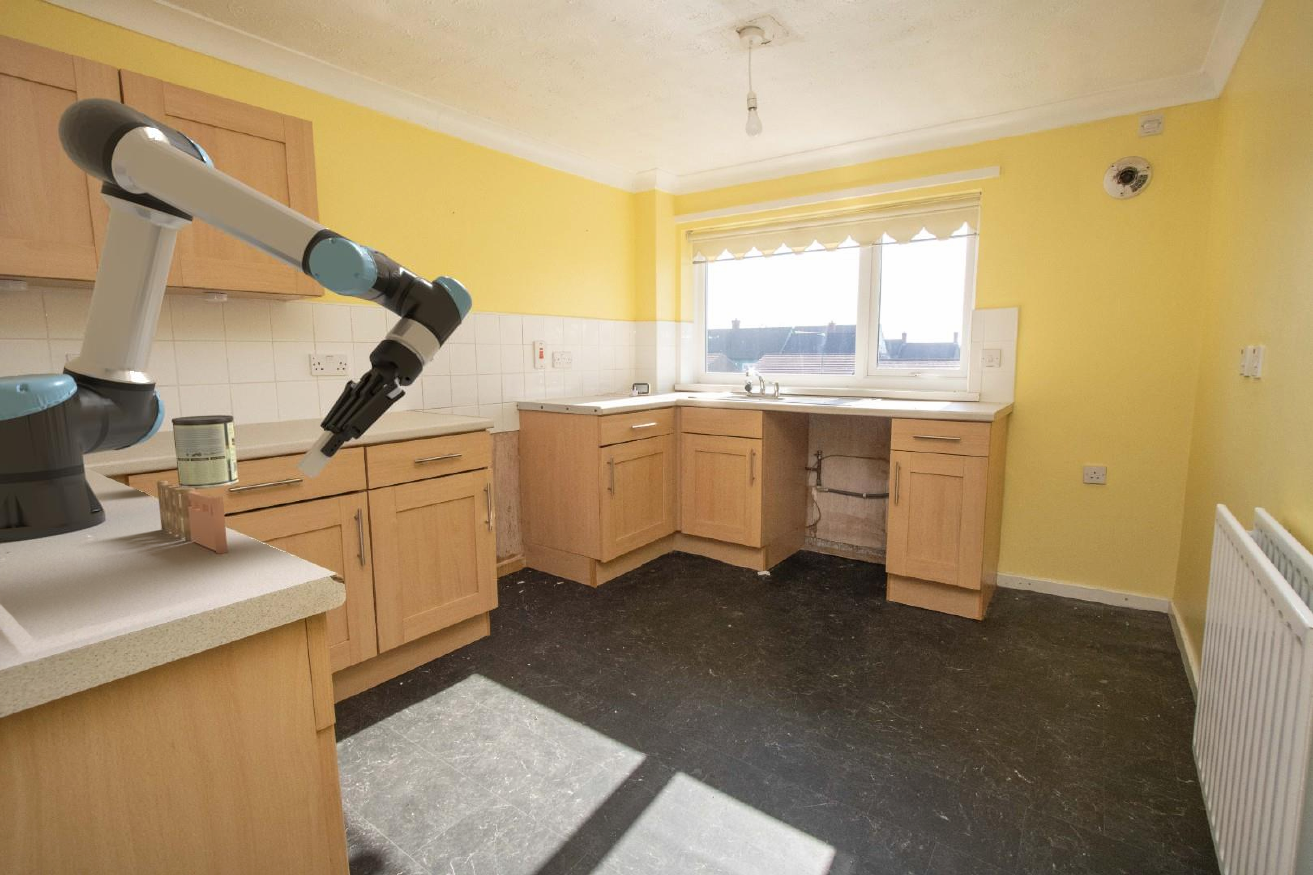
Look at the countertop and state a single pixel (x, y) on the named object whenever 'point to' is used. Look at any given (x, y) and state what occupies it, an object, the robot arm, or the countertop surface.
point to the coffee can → (205, 451)
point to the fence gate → (207, 521)
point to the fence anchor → (174, 509)
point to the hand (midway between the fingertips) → (305, 472)
